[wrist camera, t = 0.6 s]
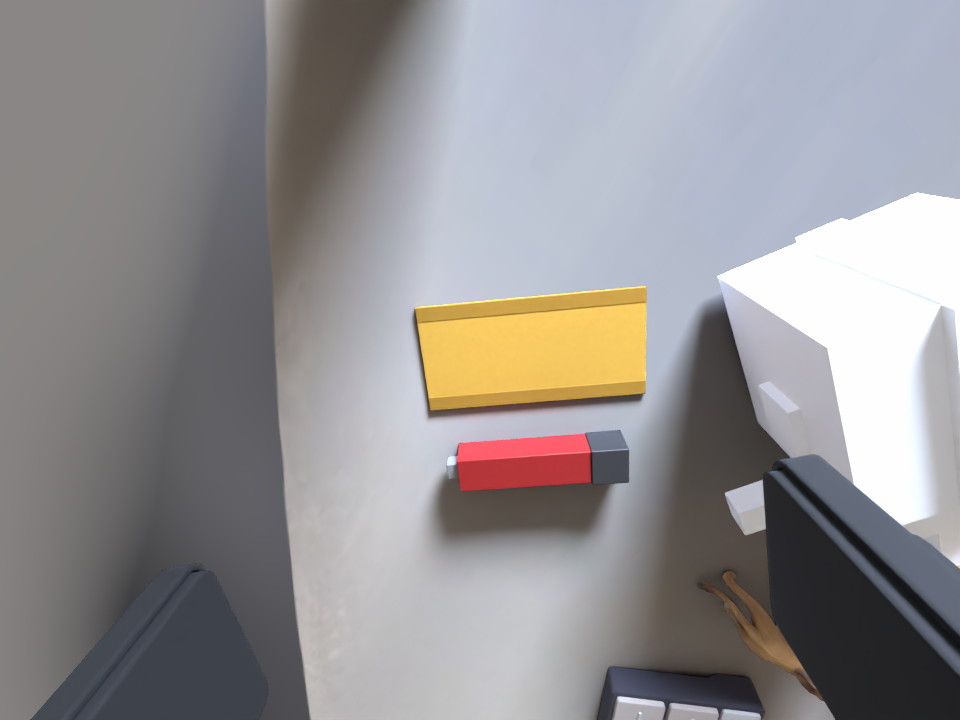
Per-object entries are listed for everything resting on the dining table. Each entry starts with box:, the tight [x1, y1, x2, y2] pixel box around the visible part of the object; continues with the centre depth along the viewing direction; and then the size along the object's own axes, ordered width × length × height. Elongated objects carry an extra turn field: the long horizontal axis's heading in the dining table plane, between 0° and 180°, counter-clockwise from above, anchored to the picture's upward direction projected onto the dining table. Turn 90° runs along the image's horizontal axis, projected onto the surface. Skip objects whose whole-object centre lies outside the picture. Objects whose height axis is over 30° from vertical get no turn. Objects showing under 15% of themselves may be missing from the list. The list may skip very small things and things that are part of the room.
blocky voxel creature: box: [717, 193, 960, 566], centre depth 36 cm, size 15×25×28 cm
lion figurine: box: [697, 571, 824, 701], centre depth 46 cm, size 15×5×9 cm, turn 67°
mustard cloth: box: [415, 286, 647, 410], centre depth 41 cm, size 9×18×1 cm, turn 96°
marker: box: [447, 430, 629, 492], centre depth 43 cm, size 3×15×3 cm, turn 96°
